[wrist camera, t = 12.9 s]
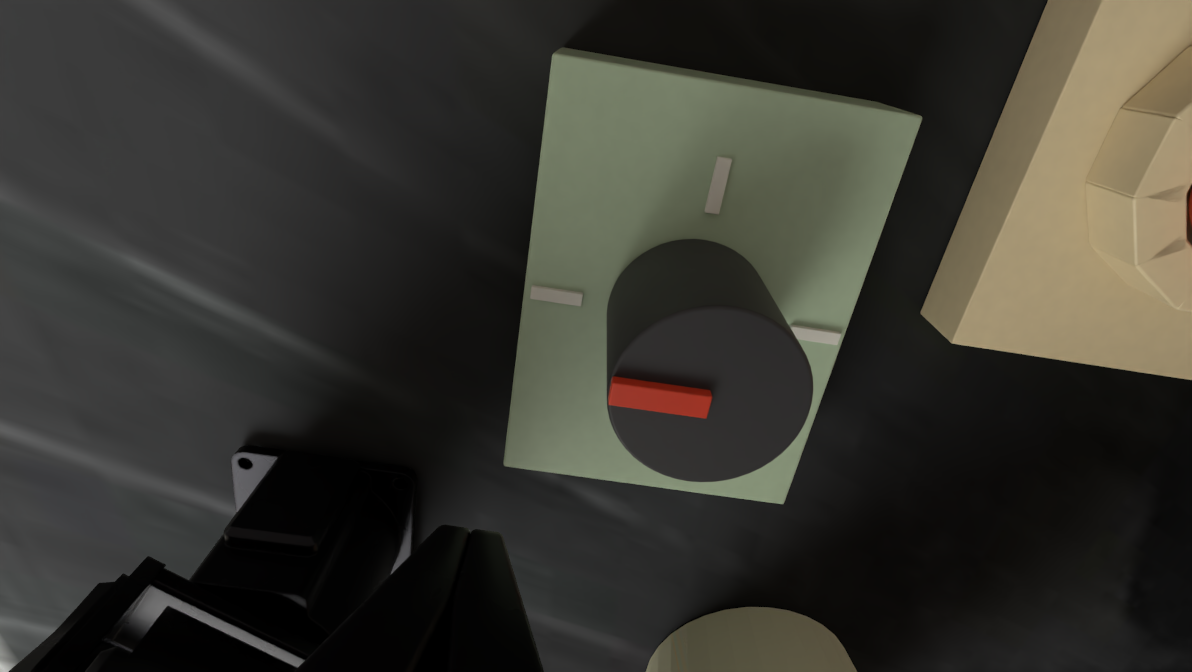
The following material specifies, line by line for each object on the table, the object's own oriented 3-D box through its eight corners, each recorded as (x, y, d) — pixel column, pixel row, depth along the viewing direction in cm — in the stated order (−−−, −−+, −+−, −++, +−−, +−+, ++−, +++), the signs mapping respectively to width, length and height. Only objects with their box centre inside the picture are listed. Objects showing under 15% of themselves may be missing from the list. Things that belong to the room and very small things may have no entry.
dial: (786, 251, 17) (847, 329, 13) (744, 394, 19) (785, 504, 15) (621, 225, 17) (626, 297, 13) (595, 372, 19) (591, 478, 15)
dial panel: (763, 449, 24) (785, 509, 21) (514, 414, 23) (502, 470, 20) (878, 101, 19) (927, 117, 16) (560, 46, 18) (552, 52, 15)
